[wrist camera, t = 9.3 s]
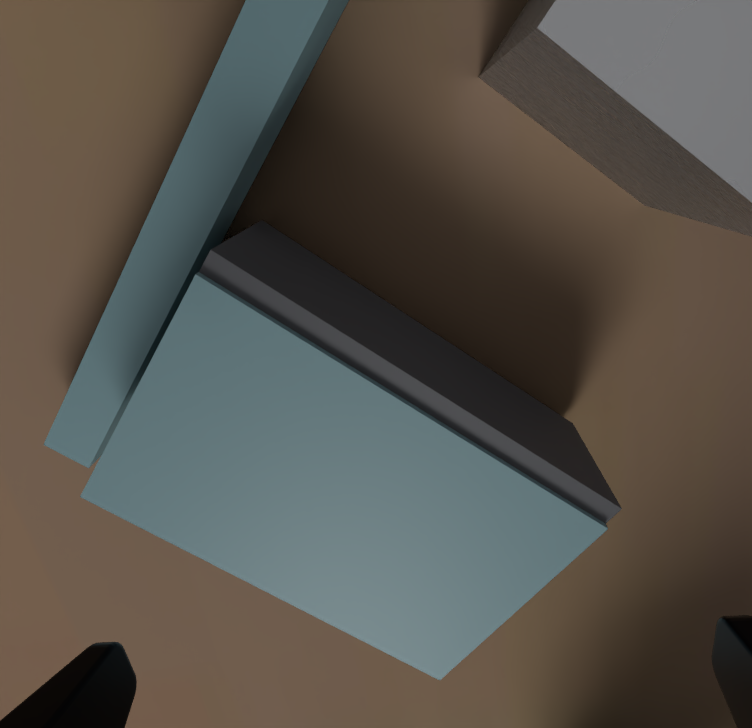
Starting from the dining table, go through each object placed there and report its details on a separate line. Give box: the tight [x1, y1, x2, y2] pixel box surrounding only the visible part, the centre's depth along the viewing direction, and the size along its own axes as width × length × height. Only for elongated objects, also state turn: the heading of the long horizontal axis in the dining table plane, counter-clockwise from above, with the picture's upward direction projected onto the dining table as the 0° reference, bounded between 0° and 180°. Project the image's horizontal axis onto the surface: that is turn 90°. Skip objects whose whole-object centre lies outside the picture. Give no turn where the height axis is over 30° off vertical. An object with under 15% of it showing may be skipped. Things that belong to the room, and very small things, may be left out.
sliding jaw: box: [80, 220, 622, 680], centre depth 16 cm, size 12×8×5 cm, turn 57°
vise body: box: [44, 0, 349, 468], centre depth 14 cm, size 14×24×5 cm, turn 147°
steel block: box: [479, 0, 752, 237], centre depth 11 cm, size 6×4×7 cm, turn 57°
